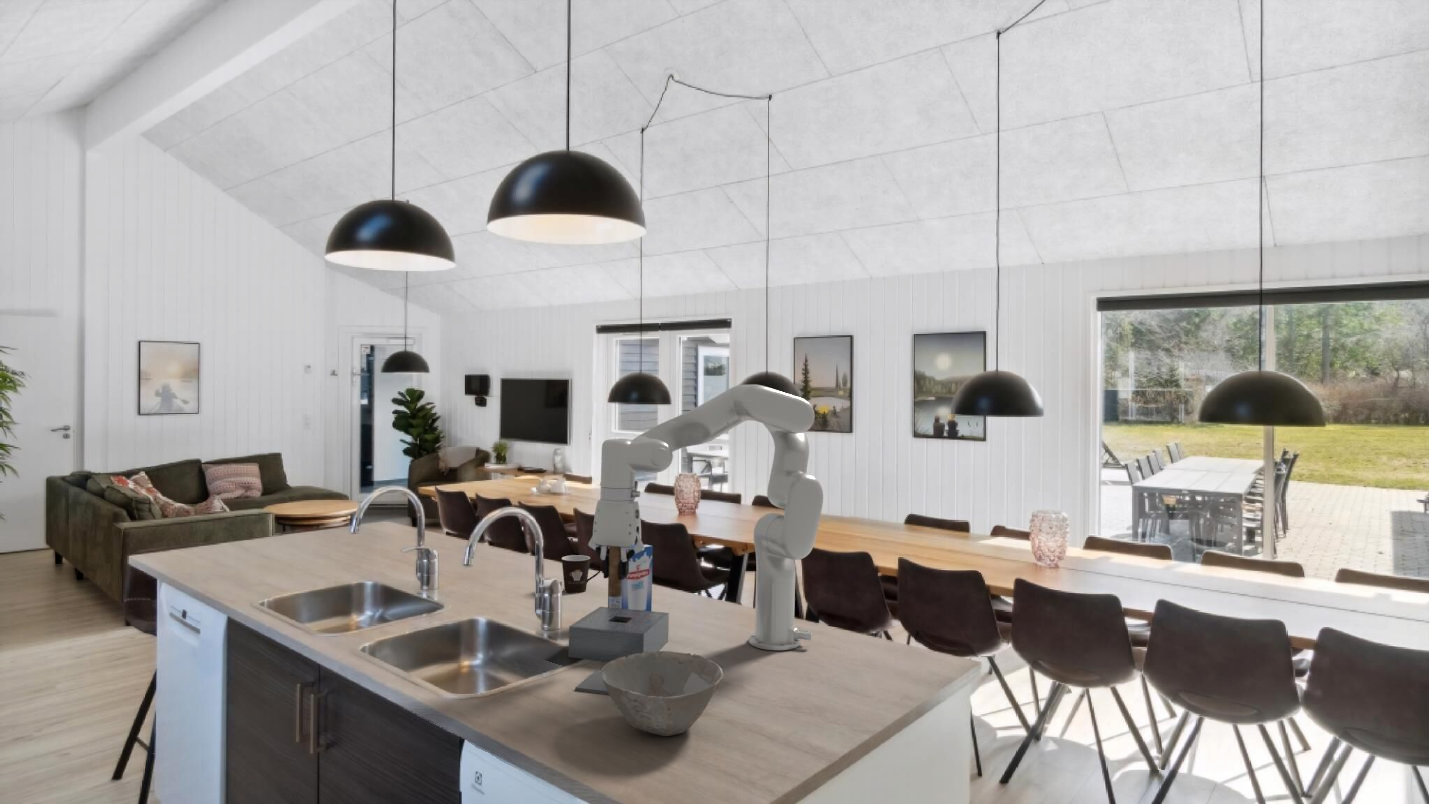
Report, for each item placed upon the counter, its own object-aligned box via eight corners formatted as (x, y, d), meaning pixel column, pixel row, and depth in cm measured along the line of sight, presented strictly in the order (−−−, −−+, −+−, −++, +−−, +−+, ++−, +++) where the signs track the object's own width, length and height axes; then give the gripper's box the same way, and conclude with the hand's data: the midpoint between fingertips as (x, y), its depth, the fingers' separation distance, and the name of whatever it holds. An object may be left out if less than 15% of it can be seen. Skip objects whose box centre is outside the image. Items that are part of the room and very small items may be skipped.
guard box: (668, 641, 190) (668, 612, 190) (643, 665, 173) (643, 634, 173) (599, 634, 195) (600, 606, 195) (568, 657, 177) (569, 626, 177)
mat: (639, 678, 165) (639, 676, 165) (621, 696, 155) (621, 693, 155) (595, 673, 167) (595, 671, 167) (575, 690, 157) (575, 687, 157)
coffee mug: (556, 593, 235) (557, 560, 235) (566, 586, 243) (567, 554, 243) (593, 595, 233) (594, 562, 233) (602, 588, 242) (603, 556, 242)
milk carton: (636, 615, 212) (637, 542, 212) (651, 620, 208) (652, 545, 208) (607, 622, 205) (608, 546, 205) (622, 627, 201) (623, 550, 201)
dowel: (623, 594, 174) (625, 531, 174) (618, 597, 171) (619, 533, 171) (611, 593, 175) (612, 530, 174) (605, 596, 172) (607, 532, 172)
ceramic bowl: (620, 764, 126) (622, 702, 126) (585, 710, 147) (586, 658, 147) (744, 742, 135) (745, 685, 135) (694, 695, 156) (695, 645, 156)
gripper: (658, 495, 174) (655, 577, 174) (591, 491, 179) (589, 571, 179) (645, 499, 167) (643, 585, 167) (576, 494, 171) (574, 578, 171)
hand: (615, 577), depth 173 cm, fingers closed on dowel, 3 cm apart
